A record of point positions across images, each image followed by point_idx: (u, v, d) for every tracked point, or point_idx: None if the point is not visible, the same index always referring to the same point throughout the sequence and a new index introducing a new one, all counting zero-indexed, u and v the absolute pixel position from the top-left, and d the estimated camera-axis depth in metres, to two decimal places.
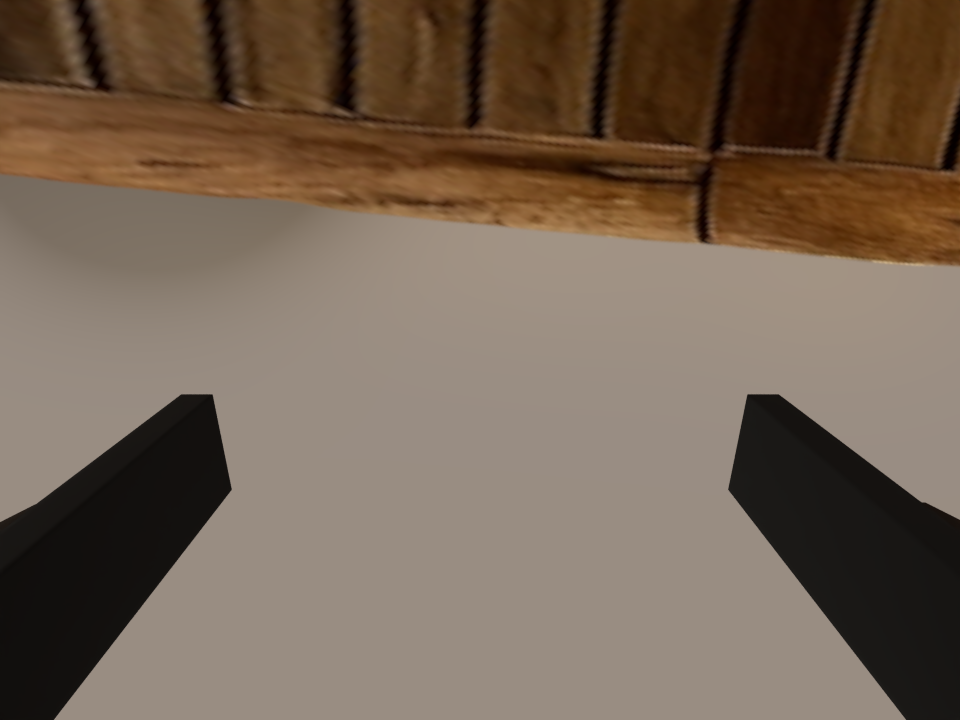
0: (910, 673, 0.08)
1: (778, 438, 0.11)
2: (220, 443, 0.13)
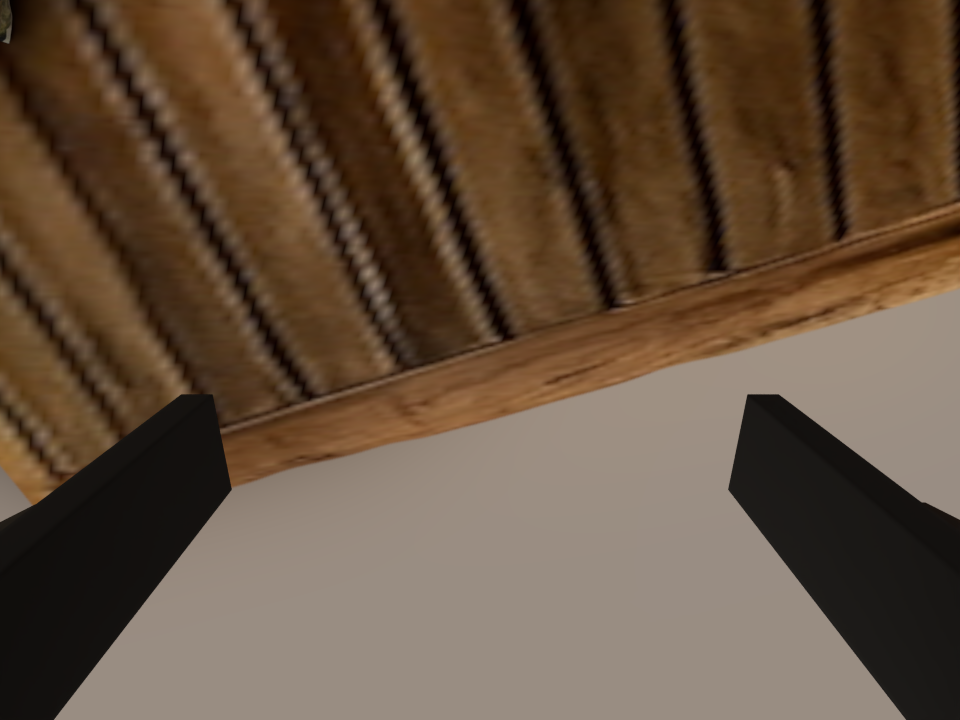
0: (910, 673, 0.08)
1: (778, 438, 0.11)
2: (220, 442, 0.13)
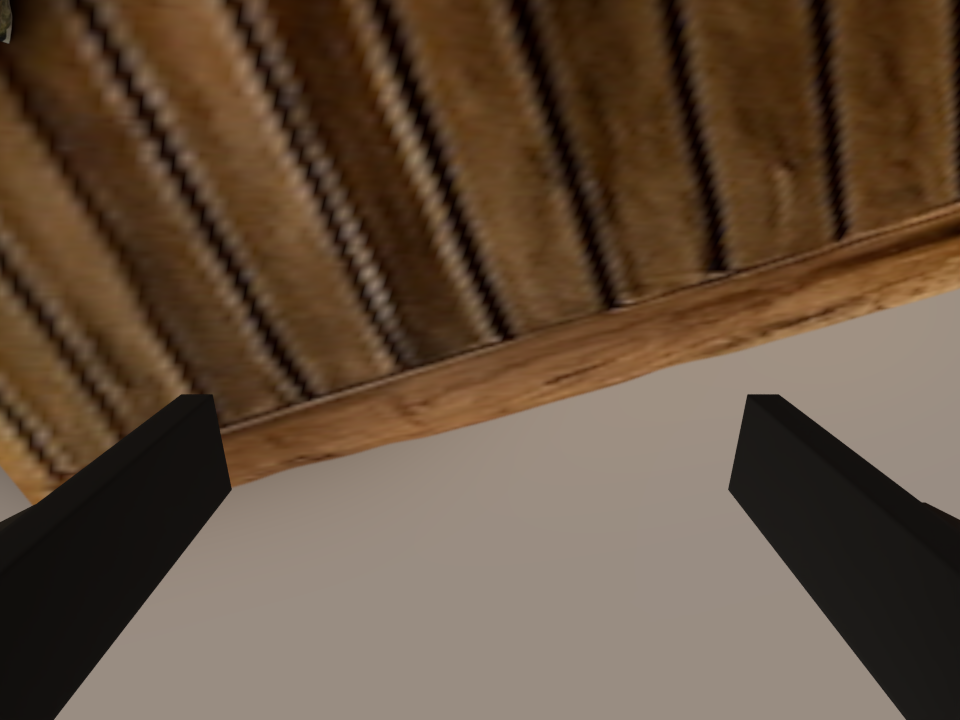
0: (910, 673, 0.08)
1: (778, 438, 0.11)
2: (220, 442, 0.13)
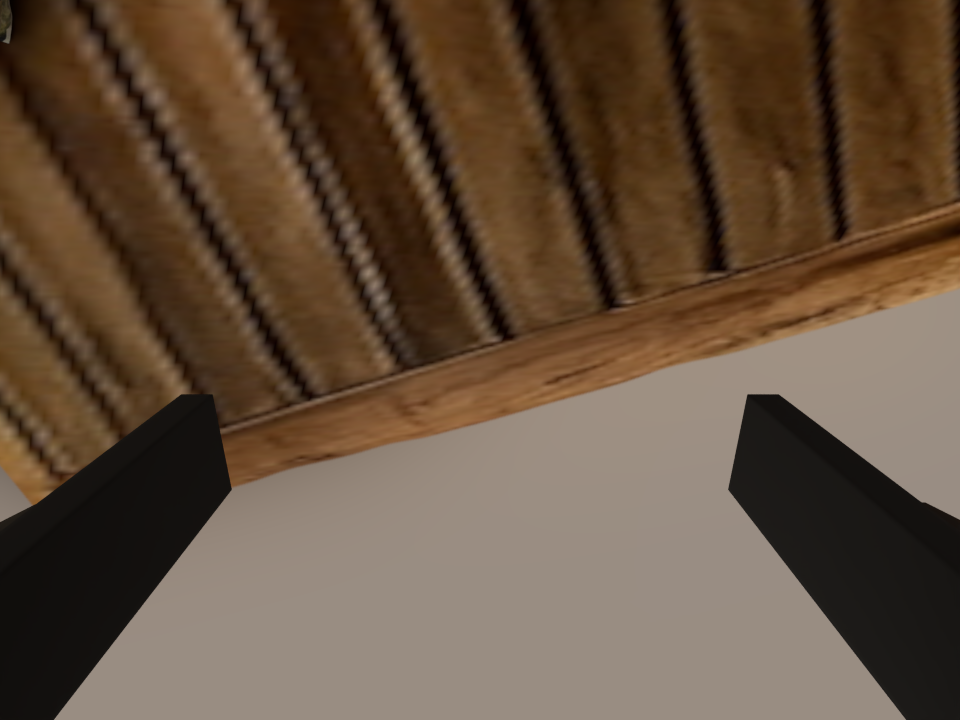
0: (910, 673, 0.08)
1: (778, 438, 0.11)
2: (220, 442, 0.13)
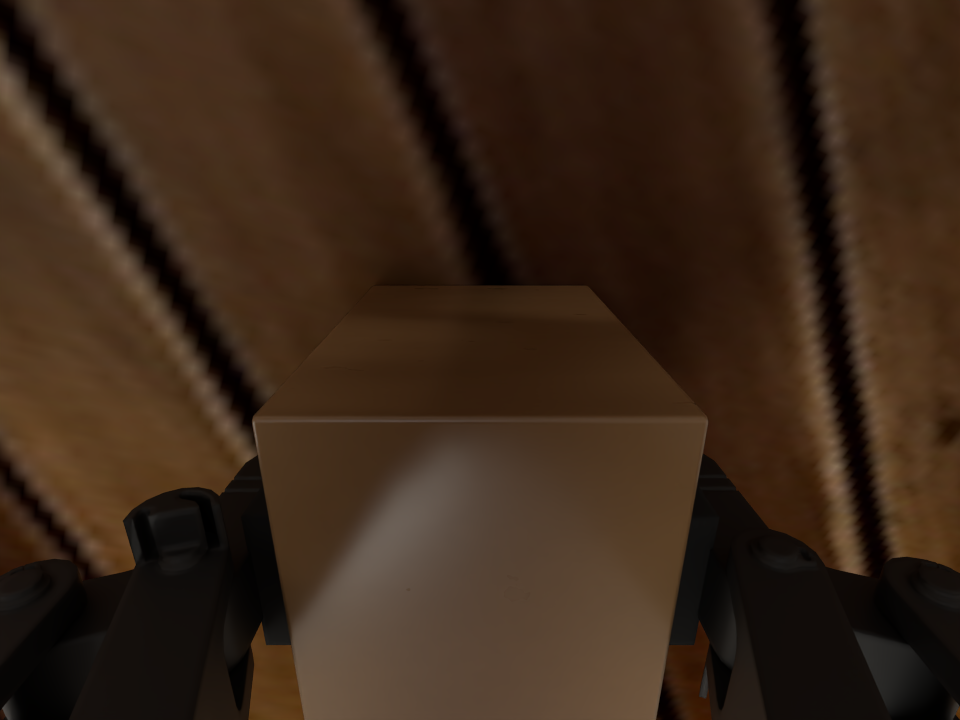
0: None
1: None
2: None
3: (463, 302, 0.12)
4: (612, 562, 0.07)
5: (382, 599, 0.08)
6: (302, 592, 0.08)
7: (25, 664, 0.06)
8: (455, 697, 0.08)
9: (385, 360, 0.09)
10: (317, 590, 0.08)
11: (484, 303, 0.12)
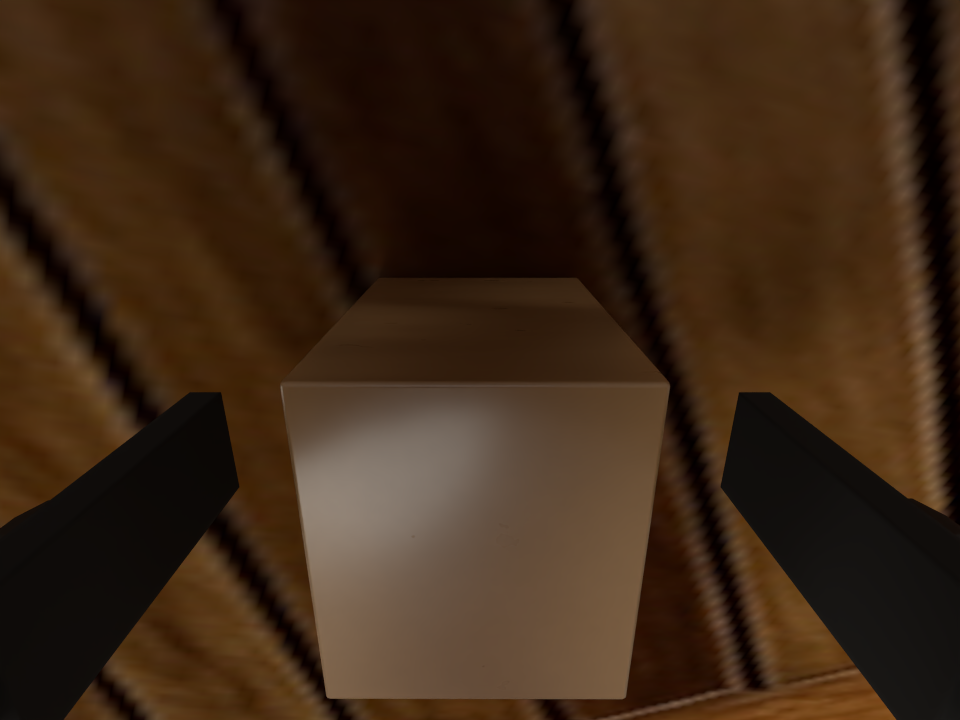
0: (895, 666, 0.08)
1: (768, 436, 0.11)
2: (227, 440, 0.13)
3: (462, 292, 0.13)
4: (590, 511, 0.09)
5: (390, 545, 0.09)
6: (320, 539, 0.09)
7: None
8: (454, 636, 0.10)
9: (392, 339, 0.10)
10: (333, 537, 0.09)
11: (481, 293, 0.13)
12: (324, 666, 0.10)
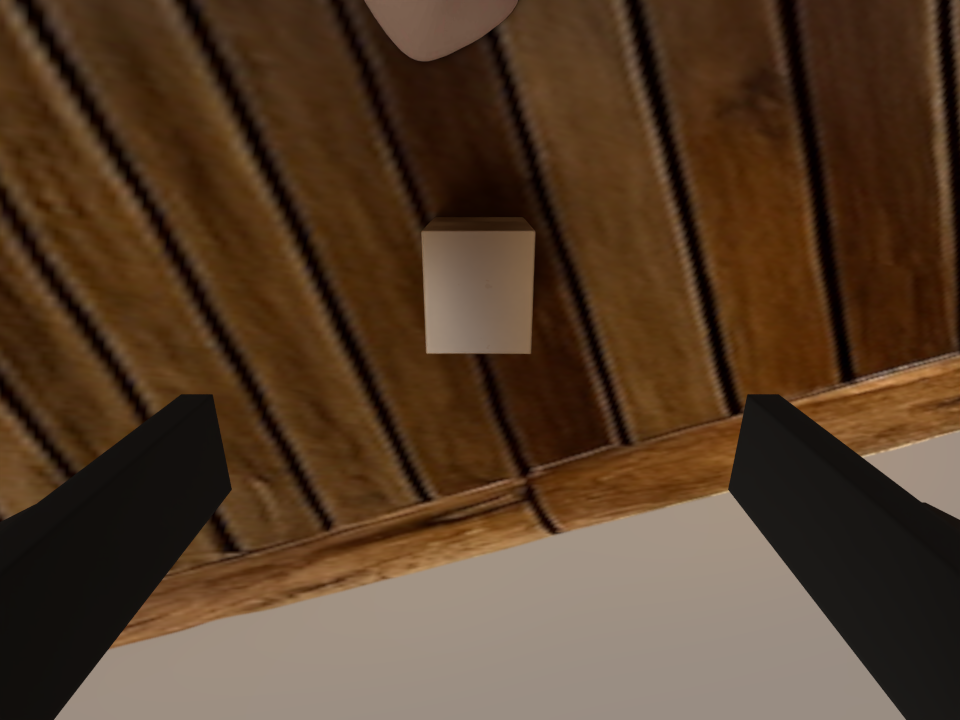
0: (910, 673, 0.08)
1: (778, 438, 0.11)
2: (220, 442, 0.13)
3: (472, 219, 0.32)
4: (514, 275, 0.27)
5: (451, 288, 0.28)
6: (429, 285, 0.28)
7: None
8: (471, 325, 0.28)
9: (450, 226, 0.29)
10: (433, 285, 0.28)
11: (480, 219, 0.32)
12: (426, 338, 0.29)
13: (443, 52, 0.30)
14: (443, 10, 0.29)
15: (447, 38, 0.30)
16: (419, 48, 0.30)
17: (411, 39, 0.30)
